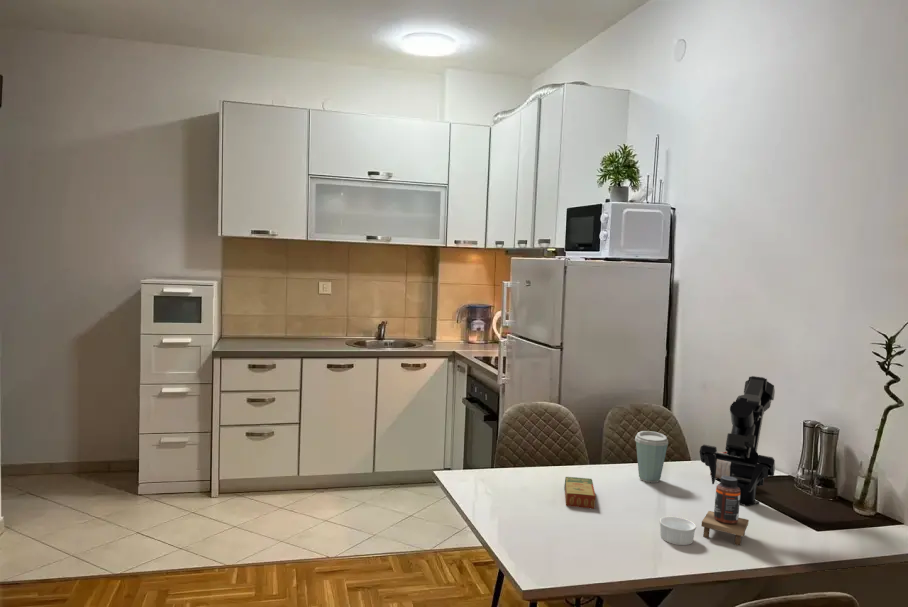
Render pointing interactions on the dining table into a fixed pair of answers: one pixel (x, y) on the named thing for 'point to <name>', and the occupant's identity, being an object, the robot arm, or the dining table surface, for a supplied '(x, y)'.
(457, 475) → the dining table surface
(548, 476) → the dining table surface
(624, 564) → the dining table surface
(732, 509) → the supplement bottle
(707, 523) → the stool
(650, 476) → the disposable coffee cup
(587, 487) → the carton
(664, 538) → the ramekin
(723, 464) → the food item
